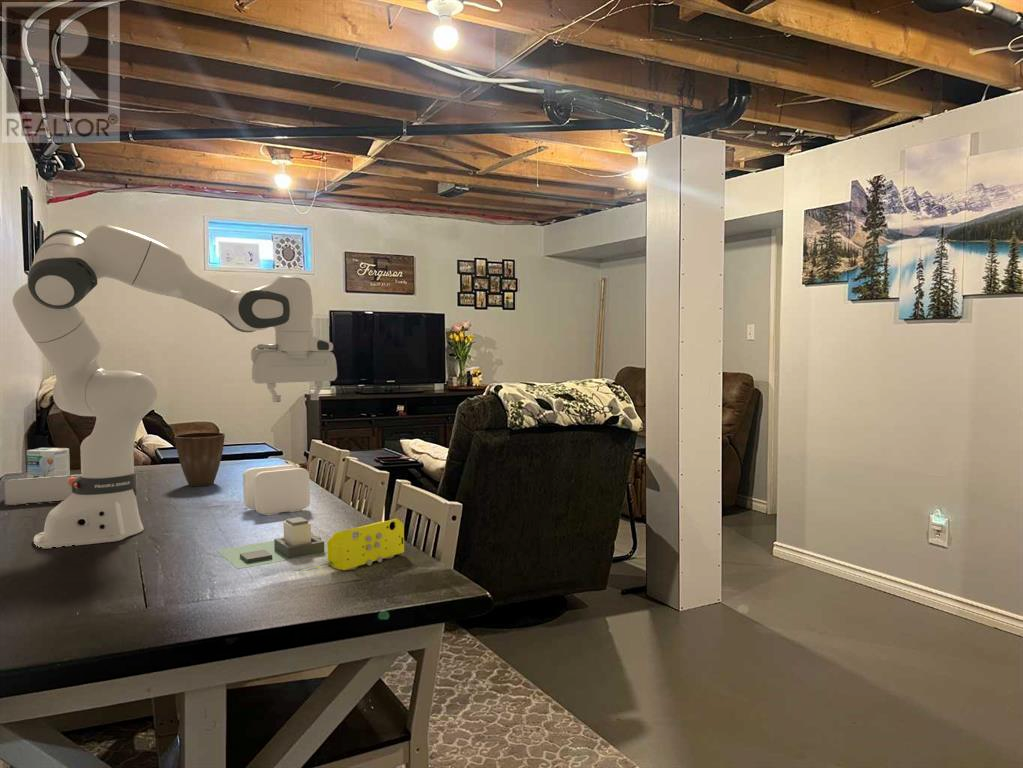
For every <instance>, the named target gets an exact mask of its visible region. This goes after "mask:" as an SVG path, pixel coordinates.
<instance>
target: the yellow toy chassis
mask: <svg viewBox="0 0 1023 768" xmlns="http://www.w3.org/2000/svg"><path fill="white" fill-rule="evenodd" d="M404 526H405V524H404V523H403V522H402V521H401V520H399V519H398V518H393V519H390V520H385V521H382V520H381V521H377V522H373V523H369V524H365V525H362V526H357V527H354V528H349V529H345V530H342V531H338V532H335V533H333V534H332V536H331V537H330V538H329V539H328V540H327V546H328V553H327V566H331V567H332V568H334V569H336V570H337V569H338V570H340V571H353V570H355V569H357V568H358V567H359V566H363V565H367V566H372V565H373V562H375V561H377V562H378V563H382V562H383V560H389V559H392V558H394V557H395V556H396V555H399V554H402V553H405V527H404Z"/></svg>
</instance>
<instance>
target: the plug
mask: <svg viewBox="0 0 1023 768" xmlns="http://www.w3.org/2000/svg"><path fill="white" fill-rule="evenodd" d="M311 524H312V523H310V522H309V520H307V519H305V518H304V517H302V516H298V517H291V518H286V519H285V521H283V537H284V542H286V543H288V544H289V545H291V546H294V545H300V544H306V543H311V535H312V528H311V527H312V525H311Z"/></svg>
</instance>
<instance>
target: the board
mask: <svg viewBox="0 0 1023 768" xmlns="http://www.w3.org/2000/svg"><path fill="white" fill-rule="evenodd" d="M215 551H216V552H217V553H218V554H219V555H220V556H222V557H224V559H225V560H227V561H228V562H229V563H230V564H231V565H233V566H234V567H235V568H236V569H237V570H240V569H245V568H251V567H252V568H253V567H256V566H263V565H268V564H273V563H279V562H283V561H289V560H295V559H301V558H307V557H311V556H317V555H323V554H328V545H327V544H325V541H324V540H322V537H320V536H318V535H316V536H314V535H313V534H311V543H306V544H300V545H294V546H291V545H289V544H288V543H286V542H284V536H283V537H277V538H274V539H273V540H272V541H271V540H270V541H264V542H259V543H257V542H256V543H253V544H247V545H246V544H245V545H239V546H234V547H227V548H221V549H216V550H215Z"/></svg>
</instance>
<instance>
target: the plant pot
mask: <svg viewBox="0 0 1023 768" xmlns="http://www.w3.org/2000/svg"><path fill="white" fill-rule="evenodd" d="M225 437H226V434H225V433H223V432H193V433H192V432H190V433H182V434H176V435H174V441H175V447H176V452H177V456H178V460H179V463H180V467H181V469H182V472H183V475H184V478H185V480H186V481H187V484H188V486H191V487H203V486H205V487H206V486H211V485H213V484H214V483H215V480H216V477H217V474H218V471H219V467H220V465H221V461H222V457H223V451H224V444H225Z"/></svg>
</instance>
